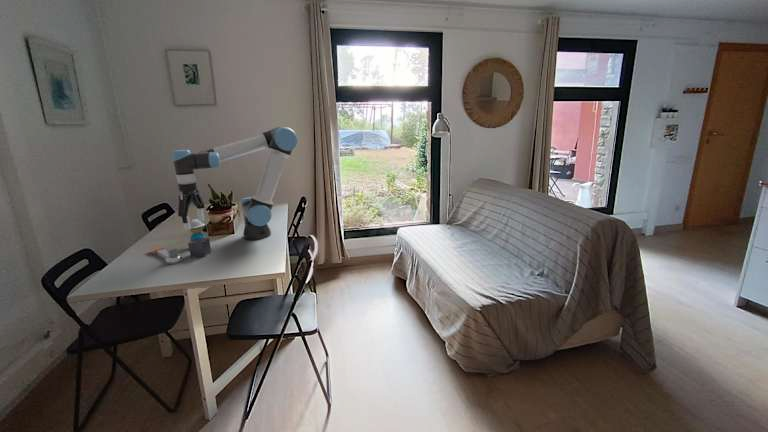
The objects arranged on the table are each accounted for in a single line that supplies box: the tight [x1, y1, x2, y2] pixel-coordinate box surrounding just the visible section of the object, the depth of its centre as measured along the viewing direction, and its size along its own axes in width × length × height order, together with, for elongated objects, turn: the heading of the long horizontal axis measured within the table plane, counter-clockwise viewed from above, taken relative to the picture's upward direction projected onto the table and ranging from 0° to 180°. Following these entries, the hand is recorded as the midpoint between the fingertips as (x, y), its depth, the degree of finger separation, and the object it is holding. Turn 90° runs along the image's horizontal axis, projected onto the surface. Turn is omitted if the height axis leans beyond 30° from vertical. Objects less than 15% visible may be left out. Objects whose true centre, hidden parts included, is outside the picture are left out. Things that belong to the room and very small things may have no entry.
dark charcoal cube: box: [187, 237, 212, 258], centre depth 173 cm, size 7×7×8 cm
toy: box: [189, 218, 208, 242], centre depth 185 cm, size 8×9×15 cm
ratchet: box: [149, 245, 184, 265], centre depth 172 cm, size 28×7×6 cm, turn 51°
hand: (194, 225), depth 170 cm, fingers open, 13 cm apart
